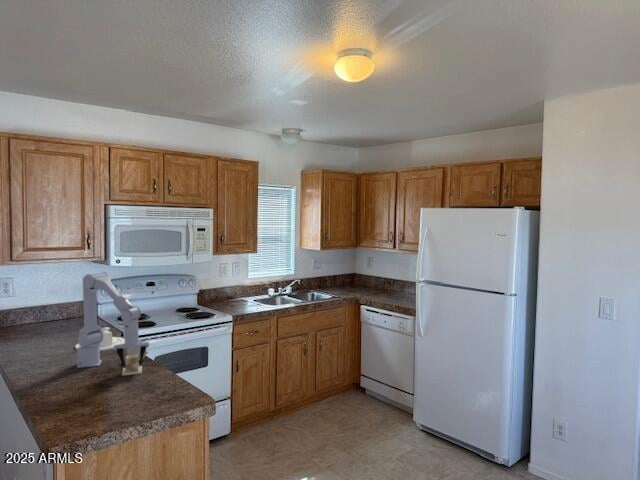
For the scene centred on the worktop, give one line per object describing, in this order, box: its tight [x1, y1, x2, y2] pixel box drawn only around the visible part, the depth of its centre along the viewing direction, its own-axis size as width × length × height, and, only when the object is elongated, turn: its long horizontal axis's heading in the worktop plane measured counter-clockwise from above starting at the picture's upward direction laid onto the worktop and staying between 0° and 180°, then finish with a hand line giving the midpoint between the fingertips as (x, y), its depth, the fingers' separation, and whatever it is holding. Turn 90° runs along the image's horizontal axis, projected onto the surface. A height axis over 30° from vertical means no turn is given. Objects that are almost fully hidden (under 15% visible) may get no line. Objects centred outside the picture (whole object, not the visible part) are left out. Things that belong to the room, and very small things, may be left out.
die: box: [126, 348, 149, 362], centre depth 217 cm, size 8×9×10 cm
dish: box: [74, 326, 125, 352], centre depth 243 cm, size 25×25×11 cm
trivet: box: [121, 365, 143, 376], centre depth 201 cm, size 8×8×1 cm
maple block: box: [124, 354, 140, 372], centre depth 201 cm, size 5×5×6 cm
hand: (132, 364), depth 201 cm, fingers open, 7 cm apart
